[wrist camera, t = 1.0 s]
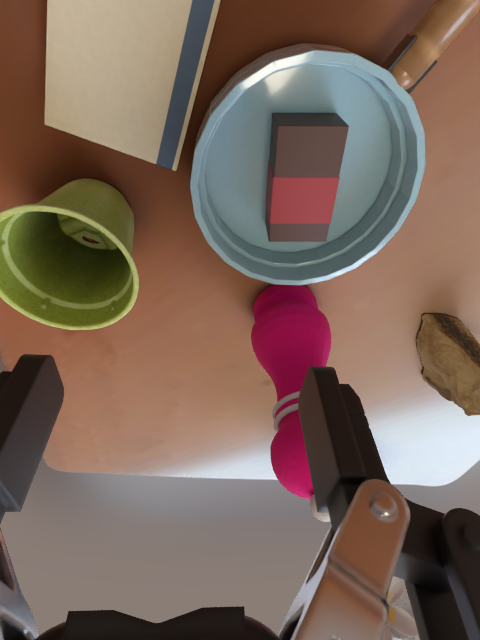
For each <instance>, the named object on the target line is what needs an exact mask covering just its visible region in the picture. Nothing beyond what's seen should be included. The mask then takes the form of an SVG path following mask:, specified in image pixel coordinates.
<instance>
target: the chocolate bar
mask: <svg viewBox="0 0 480 640" xmlns="http://www.w3.org/2000/svg"><path fill="white" fill-rule="evenodd" d="M348 129H349V126H348V125H347V123H346V122H345V121H344V120H343V119H342V118H341V117H340V116H339V115H338V114H337V113H272V126H271V141H270V156H269V161H268V174H267V190H266V215H265V224H266V230H267V235H268V240H269V242H326V240H327V235H328V230H329V225H330V223H331V219H332V214H333V209H334V204H335V199H336V194H337V189H338V184H339V179H340V177H339V174H340V169H341V164H342V159H343V154H344V149H345V144H346V139H347V134H348Z"/></svg>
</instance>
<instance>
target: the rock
mask: <svg viewBox="0 0 480 640" xmlns="http://www.w3.org/2000/svg"><path fill="white" fill-rule="evenodd" d="M422 320H423V323H422V326H421V329H420V331H419V333H418V338H417V339H416V341H417V351H418V352H419V355H420V357H421V363H422V365H423V366H424V370H423V375H422V377H423V380H424V381H426V382H427V383H428V384H429V385H430V386H431V387H432V388H434V389H436V390H437V391H438V392H439V394H440V395H441V396H442V397H444V398H445V399H447V400H449V401H454V403H455V404H457V405H458V406H459V407H461V408H462V409H463V410H464V411H465V414H466V415H468V416H471V415H480V344H479V343H478V342H477V340H476V339H475V338H474V336H473V335H472V334H471V332H470V331H469V330H468V329H467V328H466V327H465V326H464V324H463V323H462V322H461V321H460V320H458V319H455V318H452V317H449V316H446V315H443V314H424V315H423V316H422Z"/></svg>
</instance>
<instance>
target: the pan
mask: <svg viewBox="0 0 480 640" xmlns="http://www.w3.org/2000/svg"><path fill="white" fill-rule="evenodd" d="M376 77H377V78H378V79H380V80H382V81H383V82H384V83H385V84H386V86H387V87H388V88H389V89H390V90H391V91H390V90H388V89H386V88H385V87H384V86H383V85H382V84H381V83H380V82H379V80H378V79H377V78H376ZM272 113H337V114H338V115H339V116H340V117H341V118H342V119H343V120H344V121H345V122H346V123H347V125H348V126H349V129H348V134H347V139H346V144H345V149H344V154H343V159H342V164H341V169H340V174H339V177H340V179H339V184H338V189H337V194H336V199H335V204H334V209H333V214H332V219H331V223H330V225H329V230H328V235H327V240H326V242H269V240H268V235H267V230H266V224H265V215H266V190H267V174H268V161H269V156H270V141H271V126H272ZM424 170H425V133H424V129H423V126H422V123H421V120H420V118H419V115H418V112H417V109H416V106H415V103H414V101H413V99H412V97H411V96H410V95H409V94H408V93H407V91H406V90H405V89H404V88H403V87H401V86H399V85H398V83H397V81H396V79H395V77H394V76H393V75H392V74H391V73H390V72H389V71H388V70H386V69H384V68H382V67H380V66H378V65H376V64H374V63H373V62H371V61H369V60H367V59H365V58H363V57H361V56H359V55H357V54H355V53H353V52H351V51H348V50H346V49H344V48H342V47H339V46H332V45H322V44H312V43H304V44H303V43H300V44H296V45H293V46H289V47H285V48H281V49H277V50H273V51H270V52H268V53H265V54H263V55H262V56H260V57H259V58H257V59H256V60H254V61H253V62H251V63H250V64H248V65H247V66H245V67H244V68H242V69H240V70H239V71H237V72H236V74H234V75H233V76H232V77H231V79H230V80H229V81H228V82H227V83H226V84H225V86H224V87H223V88H222V89H221V90H220V92H219V93H218V94H217V95H216V96H215V98H214V99H213V100H212V102H211V103H210V106H209V108H208V110H207V112H206V115H205V117H204V119H203V122H202V124H201V126H200V128H199V131H198V133H197V138H196V144H195V150H194V157H193V164H192V172H191V179H190V191H191V197H192V203H193V210H194V216H195V218H196V221H197V223H198V225H199V227H200V229H201V231H202V233H203V235H204V237H205V239H206V241H207V243H208V244H209V245H210V246H211V247H212V248H213V250H214V251H215V252H216V253H217V254H218V255H219V256H220V257H221V258H222V259H223V260H224V262H225V263H227V264H228V265H230V266H232V267H233V268H235V269H236V270H238V271H240V272H241V273H243V274H245V275H246V276H249V277H251V278H254V279H258V280H261V281H264V282H268V283H271V284H279V285H305V284H310V283H316V282H321V281H326V280H329V279H332V278H334V277H336V276H339V275H341V274H343V273H346V272H348V271H351V270H353V269H355V268H356V267H358V266H359V265H360V264H362V263H363V262H365V261H366V260H367V259H369V258H370V257H372V256H373V255H375V254H376V253H377V252H378V251H380V250H381V249H382V247H383V246H384V245H385V244H386V243H387V242H388V241H389V240H390V239H391V238H392V237H393V235H394V234H395V233H396V232H397V231H398V230H399V229H400V227H401V226H402V224H403V222H404V220H405V219H406V217H407V215H408V213H409V212H410V210H411V208H412V206H413V205H414V203H415V201H416V199H417V195H418V192H419V188H420V184H421V181H422V177H423V173H424Z"/></svg>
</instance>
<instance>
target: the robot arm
mask: <svg viewBox="0 0 480 640" xmlns="http://www.w3.org/2000/svg"><path fill="white" fill-rule="evenodd" d="M63 397H64V387H63V384H62V381H61V378H60V375H59V372H58V369H57V367H56V364H55V361H54V358H53V357H52V356H51V355H31V354H24V355H22V356H21V357H20V358H19V360H18V362H17V364H16V365H15V367H14V369H13V371H12V372H7V371H3V372H1V373H0V523H1V521H2V518H3V516H4V513H5V512H18V511H19V512H20V511H21V509H22V506H23V504H24V501H25V498H26V496H27V493H28V490H29V488H30V485H31V483H32V480H33V478H34V475H35V473H36V470H37V468H38V465H39V462H40V460H41V457H42V455H43V452H44V449H45V447H46V444H47V442H48V439H49V437H50V434H51V431H52V429H53V426H54V424H55V421H56V419H57V416H58V413H59V411H60V408H61V406H62V402H63ZM298 410H299V416H300V421H301V427H302V432H303V438H304V443H305V448H306V454H307V459H308V464H309V470H310V475H311V480H312V486H313V491H314V497H315V502H316V507H317V513H329V516H330V521H331V526H330V528H329V530H328V532H327V534H326V537H325V539H324V541H323V543H322V545H321V547H320V549H319V551H318V554H317V556H316V558H315V560H314V562H313V564H312V566H311V568H310V571H309V573H308V575H307V577H306V579H305V581H304V584H303V585H302V587H301V589H300V591H299V593H298V594H297V597H296V598H295V600H294V601H293V603H292V605H291V607H290V609H289V611H288V613H287V615H286V618H285V620H284V622H283V624H282V626H281V628H280V630H279V632H278V635H276V634H275V633H274V632H273V631H272V630H271V629H269V628H268V627H266V626H265V625H264V624H262V623H261V622H259V621H257V620H255V619H253V618H251V617H248V616H245V615H244V607H212V608H211V607H210V608H200V609H198V610H195V611H192V612H189V613H186V614H184V615H181V616H178V617H175V618H173V619H170V620H167V621H164V622H162V623H152V622H149V621H146V620H143V619H139V618H136V617H133V616H130V615H127V614H124V613H121V612H117V611H115V610H98V611H69V612H68V616H67V620H66V622H64V623H61V624H59V625H57V626H55V627H53V628H51V629H49V630H47V631H46V632H44V633H42V634H41V635H40V634H39V632H38V628H37V625H36V622H35V619H34V617H33V614H32V612H31V610H30V607H29V605H28V603H27V602H26V600H25V599H24V597H23V595H22V593H21V590H20V588H19V584H18V581H17V578H16V575H15V572H14V569H13V566H12V563H11V559H10V556H9V553H8V550H7V547H6V544H5V541H4V538H3V535H2V532H1V529H0V640H383V637H384V634H385V630H386V627H387V623H388V619H389V605H388V603H387V596H388V592H389V588H390V585H391V582H392V578H393V576H395V577H398V578H400V579H403V580H404V581H405V585H406V589H407V592H408V596H409V600H410V604H411V608H412V611H413V615H414V619H415V623H416V627H417V630H418V634H419V638H420V640H480V516H479V515H478V514H476V513H474V512H472V511H470V510H467V509H463V508H456V509H452V510H450V511H449V512H447V513H446V514H444V513H441V512H438V511H435V510H432V509H429V508H426V507H424V506H420V505H418V504H415V503H413V502H411V501H409V500H407V499H406V498H404V497H403V495H402V494H401V493H400V492H399V491H398V490H397V489H396V488H395V487H394V486H393V485H391V483H390V482H389V480H388V478H387V476H386V473H385V470H384V468H383V465H382V462H381V459H380V456H379V453H378V450H377V447H376V444H375V441H374V439H373V436H372V433H371V430H370V428H369V424H368V421H367V418H366V416H365V415H364V413H365V412H364V409H363V407H362V404H361V401H360V398H359V397H358V395H357V394H356V393H355V392H354V390H353V389H352V388H351V386H350V385H349V384H339V381H338V378H337V375H336V371H335V369H334V368H333V367H315V366H310V367H309V368H308V371H307V373H306V376H305V379H304V382H303V385H302V388H301V391H300V394H299V399H298Z"/></svg>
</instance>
